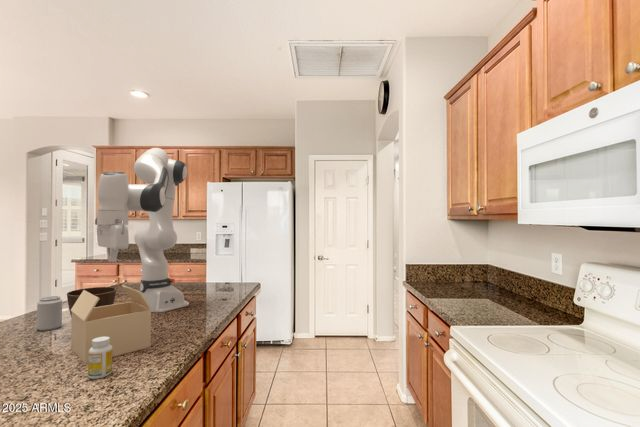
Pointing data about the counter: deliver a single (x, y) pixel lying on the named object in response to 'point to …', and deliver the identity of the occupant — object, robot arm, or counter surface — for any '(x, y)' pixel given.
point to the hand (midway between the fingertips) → (112, 261)
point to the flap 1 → (84, 305)
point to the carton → (112, 329)
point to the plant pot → (101, 292)
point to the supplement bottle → (100, 358)
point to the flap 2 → (136, 296)
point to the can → (49, 313)
